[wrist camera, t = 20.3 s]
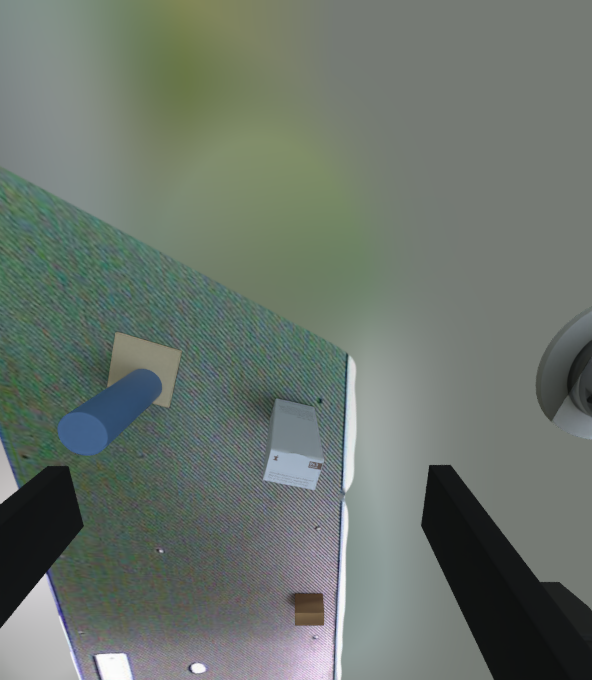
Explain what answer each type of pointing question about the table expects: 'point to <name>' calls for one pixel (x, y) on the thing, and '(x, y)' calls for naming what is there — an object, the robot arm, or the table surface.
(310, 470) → the cosmetic box
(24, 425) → the table surface
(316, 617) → the brown rectangular block
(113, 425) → the tube
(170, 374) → the mat
